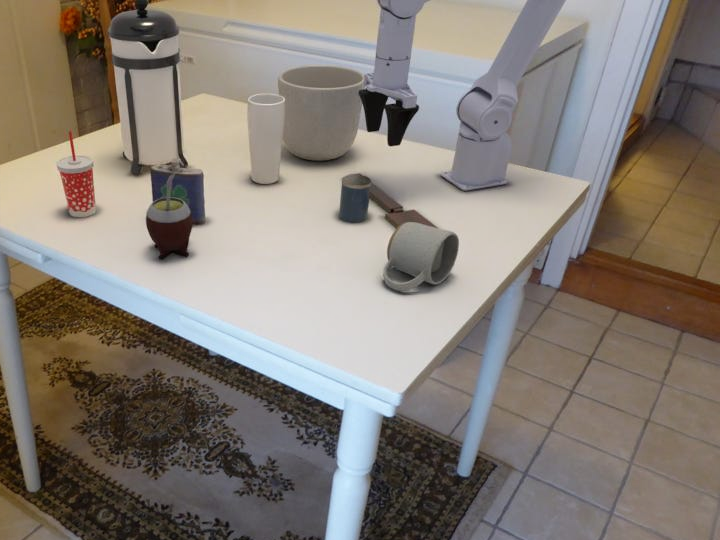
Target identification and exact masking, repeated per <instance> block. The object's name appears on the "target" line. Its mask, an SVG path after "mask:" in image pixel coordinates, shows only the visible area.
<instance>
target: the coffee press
mask: <svg viewBox="0 0 720 540" xmlns="http://www.w3.org/2000/svg"><path fill="white" fill-rule="evenodd" d="M134 5H135V7H136V8H137V9H133V10H127V11H123V12H120V13H118V14H116V15H115V16H114V17H113V18H112V19H111V21H110V24H109V28H107V36H108V38H109V39H110V45H111V51H110V55H111V64H112V66H113V71H114V79H115V88H116V90H115V91H116V98H117V105H118V115H119V124H120V132H121V141H122V149H123V151H122V157H123V158H125V159H128V160H129V161H130V162H132V163H131V166H130V174H132V175H136V176H140V174H141V172H142V170H143V167H144V166H154V165H160V164H161V163H163V165H164V164H165V165H167V164H169V163H171V162H170V160H171V159H176V158H179V159H181V161H180V162H179V164H180V168H188V167H189V162H188V161H187V159H186V157H185V155H184V152H185V142H184V141H185V139H184V138H185V137H184V123H183V122H184V121H183V104H182V103H183V102H182V89H181V87H182V86H181V70H180V61H181V49H180V48H179V35H180V26H179V25H177V21H176V19H175V18H174V16H172V15H171V14H169V13H168V12H165V11H162V10H157V9H147V7H148V5H149V1H148V0H134Z"/></svg>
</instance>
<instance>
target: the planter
mask: <svg viewBox="0 0 720 540" xmlns="http://www.w3.org/2000/svg"><path fill="white" fill-rule="evenodd" d="M364 74H365V73H363V72H362V71H359V70H357V69H354V68H352V67H351V68H350V67H346V66H340V65H333V64H332V65H329V64H310V65H309V64H308V65H299V66H294V67H290V68H287V69H285V70H283V71H281V72H280V73H279V74H278V75H277V81H278V85H277V86H278V87H277V88H278V95H280V96H282V97H284V98H285V125H284V134H283V142H282V143H283V144H284V145H285V147H286V148H287V150H288V151H289V152H290V153H292V155H294V156H295V157H298V158H300V159H303V160H308V161H313V162H315V161H316V162H317V161H319V162H320V161H330V160H334V159H337V158H340V157H341V156H343V155H345V154H346V153H347V152H348V151H349V150H350V149H351V148H352V146H353V144H354V143H355V140H356V138H357V135H358V132H359V131H358V130H359V125H360V119H361V115H362V114H361V113H362V107H363V104H362V101H361V98H360V96H359V90H362V89H366V86H365V85H363V84H364Z"/></svg>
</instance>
